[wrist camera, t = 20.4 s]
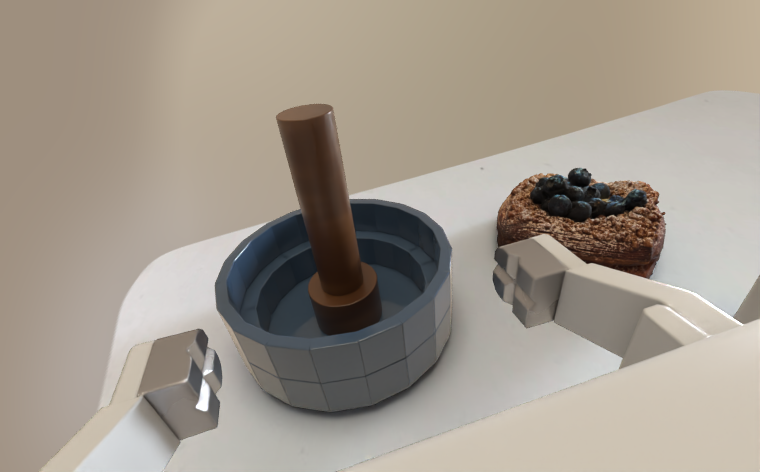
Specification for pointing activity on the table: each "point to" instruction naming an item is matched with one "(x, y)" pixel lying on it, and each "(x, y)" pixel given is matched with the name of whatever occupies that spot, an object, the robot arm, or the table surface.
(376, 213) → the bowl
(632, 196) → the pastry
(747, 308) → the energy drink
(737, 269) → the table surface
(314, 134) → the pestle
